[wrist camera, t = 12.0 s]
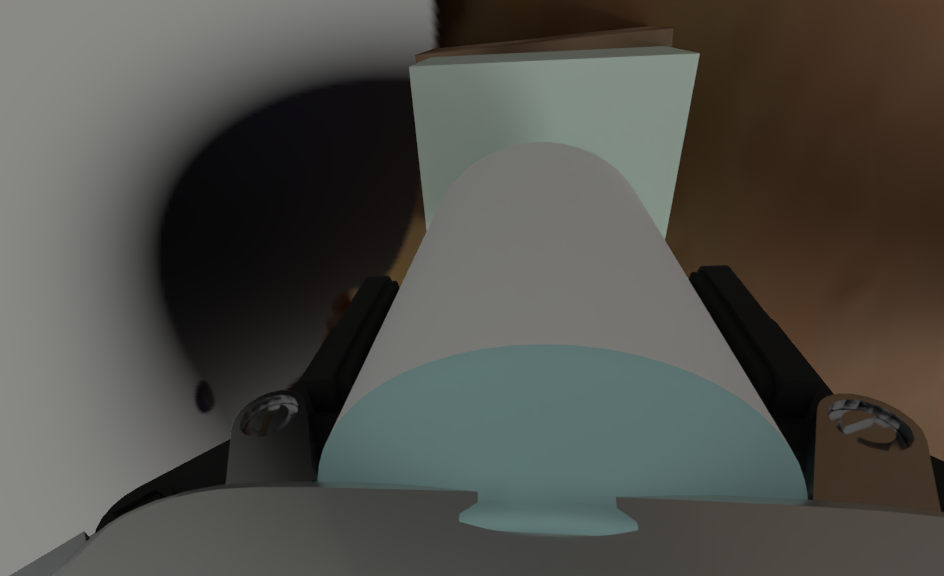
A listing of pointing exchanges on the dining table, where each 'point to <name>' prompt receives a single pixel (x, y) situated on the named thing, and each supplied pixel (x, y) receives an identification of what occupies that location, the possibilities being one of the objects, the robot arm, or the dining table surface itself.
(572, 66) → the sage top block
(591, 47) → the walnut base block
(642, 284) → the can
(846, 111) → the dining table surface
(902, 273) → the dining table surface
